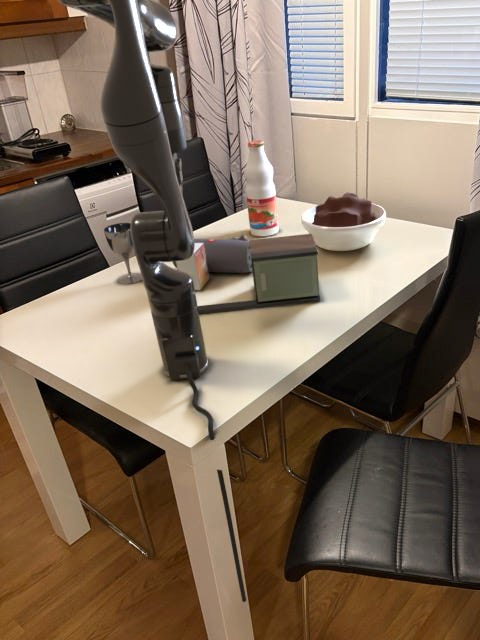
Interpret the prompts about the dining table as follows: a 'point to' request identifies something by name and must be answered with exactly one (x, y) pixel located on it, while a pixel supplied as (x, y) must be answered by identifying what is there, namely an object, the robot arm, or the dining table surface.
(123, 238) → the wine glass
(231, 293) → the dining table surface
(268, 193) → the fruit juice
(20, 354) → the dining table surface
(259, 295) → the door
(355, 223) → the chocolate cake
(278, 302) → the track
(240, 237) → the animal figurine
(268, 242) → the box
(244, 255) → the bluetooth speaker
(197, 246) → the small box
